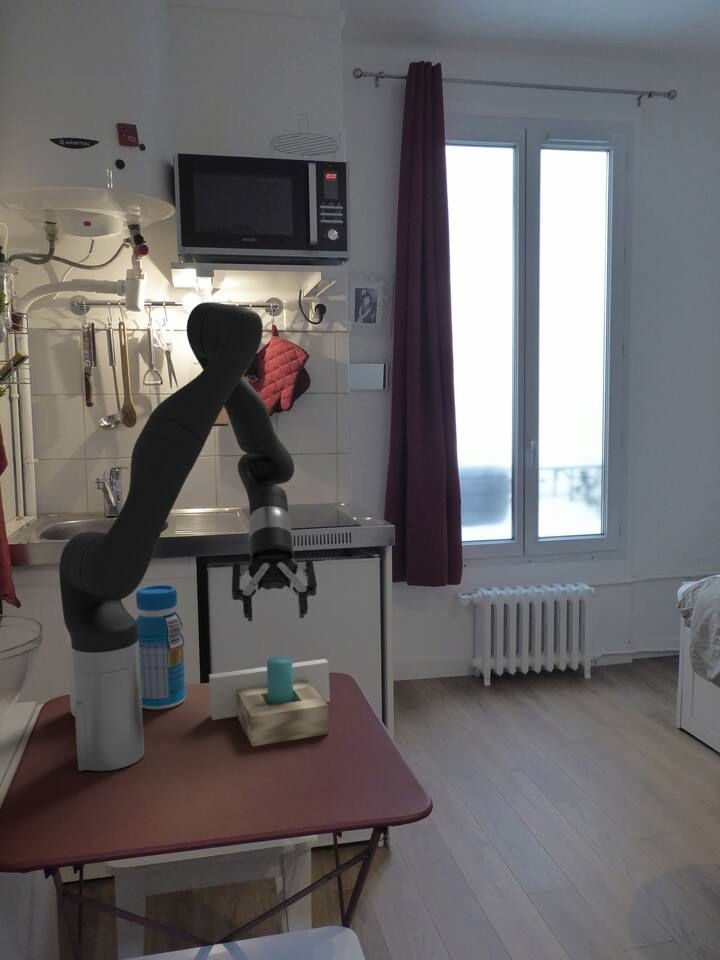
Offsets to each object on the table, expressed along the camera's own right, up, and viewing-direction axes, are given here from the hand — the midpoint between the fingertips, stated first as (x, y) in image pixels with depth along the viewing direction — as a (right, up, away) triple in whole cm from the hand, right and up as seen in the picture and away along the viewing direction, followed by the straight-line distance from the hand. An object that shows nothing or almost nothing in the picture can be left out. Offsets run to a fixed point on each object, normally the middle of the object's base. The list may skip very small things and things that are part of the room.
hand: (276, 617), depth 130 cm
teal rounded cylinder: (+1, -16, -4) cm, 17 cm away
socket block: (+1, -17, -4) cm, 17 cm away
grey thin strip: (-31, -17, +3) cm, 35 cm away
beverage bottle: (-21, -16, +7) cm, 27 cm away
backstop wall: (-1, -16, +2) cm, 16 cm away
